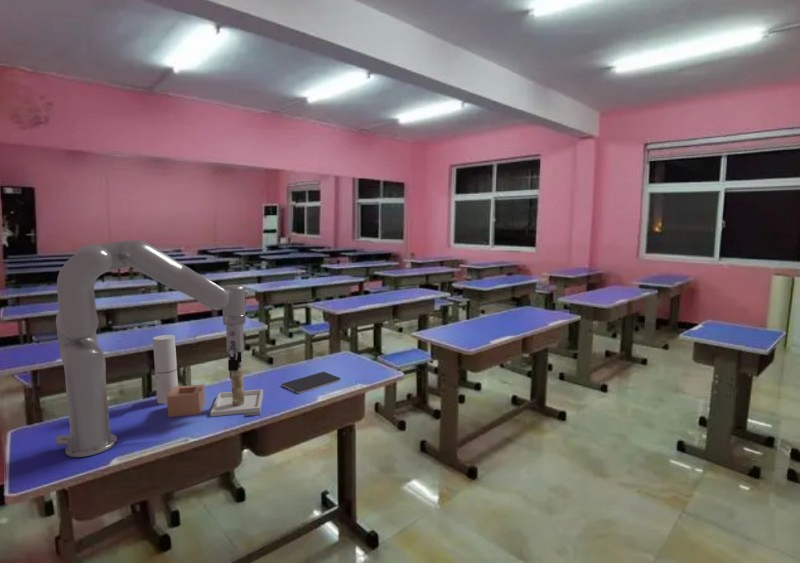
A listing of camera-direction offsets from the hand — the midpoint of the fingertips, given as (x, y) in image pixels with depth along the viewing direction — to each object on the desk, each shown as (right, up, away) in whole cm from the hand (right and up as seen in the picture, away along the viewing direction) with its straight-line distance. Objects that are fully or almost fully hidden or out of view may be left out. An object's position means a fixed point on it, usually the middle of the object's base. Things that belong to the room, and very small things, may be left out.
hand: (235, 366), depth 158 cm
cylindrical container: (-27, -15, +6) cm, 32 cm away
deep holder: (-16, -16, -3) cm, 22 cm away
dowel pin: (0, -14, +2) cm, 14 cm away
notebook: (+22, -13, +26) cm, 37 cm away
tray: (0, -15, +2) cm, 15 cm away
